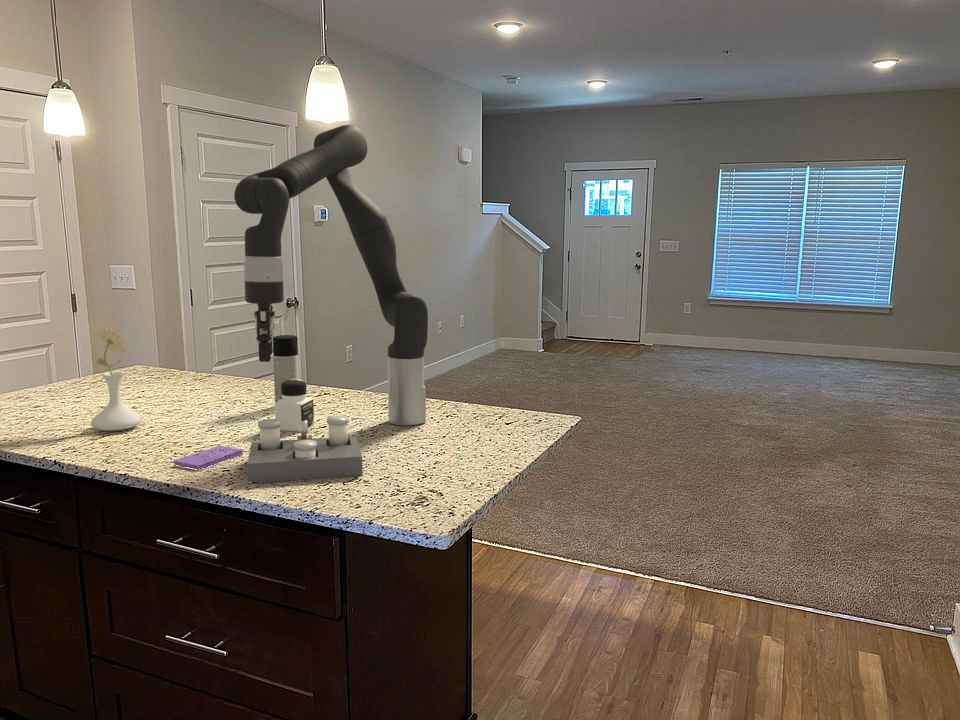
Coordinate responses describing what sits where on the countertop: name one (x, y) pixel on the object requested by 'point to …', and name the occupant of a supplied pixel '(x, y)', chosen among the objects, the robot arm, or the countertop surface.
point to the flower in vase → (114, 389)
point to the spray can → (284, 361)
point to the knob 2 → (338, 430)
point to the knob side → (305, 448)
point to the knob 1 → (269, 434)
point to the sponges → (208, 457)
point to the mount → (304, 462)
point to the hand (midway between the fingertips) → (265, 358)
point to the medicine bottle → (294, 406)
